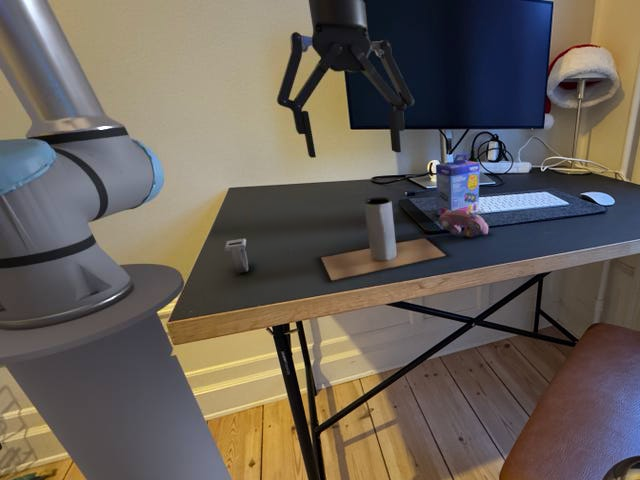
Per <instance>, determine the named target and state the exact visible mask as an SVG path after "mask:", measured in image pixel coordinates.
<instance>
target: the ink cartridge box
mask: <svg viewBox="0 0 640 480" xmlns="http://www.w3.org/2000/svg"><path fill="white" fill-rule="evenodd" d="M468 154H469V152H465V153H459V154H456V155H455V157H454V160H453V161H446V162H443V163H438V164H435V178H436V179H435V181H436V182H435V183H436V212H437V214H436V215H438V216H439V217H440V216H441V215H442V214H443V213H445V212H446V210H450V211H454V210H458V209H459V210H466V211H468V212H471V213H478V212H479V200H480V199H479V198H480V196H479V195H480V170H481V168H480V167H481V166H480V165H481V164H480V162H476V161H472V160H467V158H468V156H469V155H468ZM461 157H463V158H461ZM476 208H477V209H476ZM472 209H474V210H472ZM469 210H470V211H469Z"/></svg>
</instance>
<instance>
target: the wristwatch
mask: <svg viewBox="0 0 640 480" xmlns="http://www.w3.org/2000/svg"><path fill="white" fill-rule="evenodd" d="M246 244H247V239H246V238H238V239H231V240H227V241H226V243H225V246H224V251H225V252H230V255H231V259H232V262H233V266H234V269H235V271H236V272H237V273H238V274H241V273H242V274H243V273H248V271H249V261H248V255H247V252H246V246H247V245H246Z"/></svg>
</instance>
